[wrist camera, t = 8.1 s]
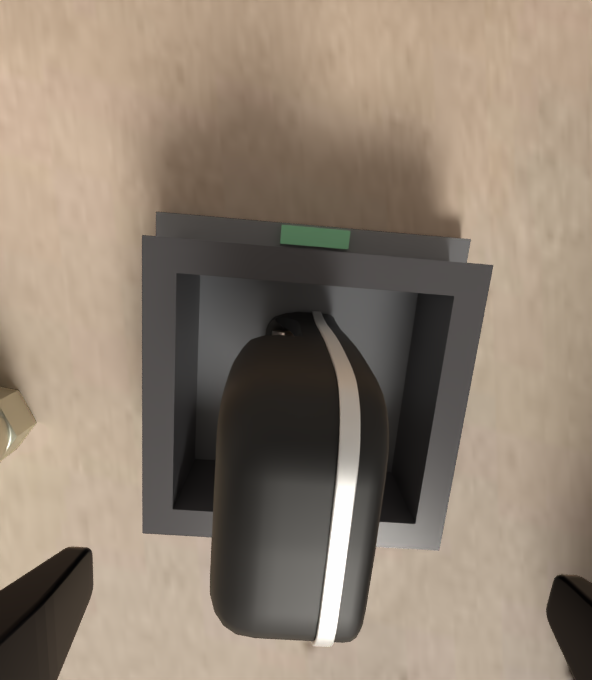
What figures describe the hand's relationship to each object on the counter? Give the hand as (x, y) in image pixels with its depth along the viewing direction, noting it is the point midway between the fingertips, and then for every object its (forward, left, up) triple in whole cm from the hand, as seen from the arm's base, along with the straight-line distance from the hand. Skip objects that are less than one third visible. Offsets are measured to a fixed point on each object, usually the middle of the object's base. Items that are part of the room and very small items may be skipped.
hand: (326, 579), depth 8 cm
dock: (0, 0, -13) cm, 13 cm away
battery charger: (+1, 0, -12) cm, 12 cm away
